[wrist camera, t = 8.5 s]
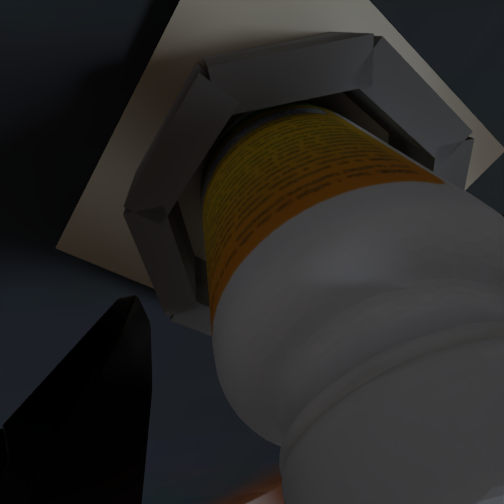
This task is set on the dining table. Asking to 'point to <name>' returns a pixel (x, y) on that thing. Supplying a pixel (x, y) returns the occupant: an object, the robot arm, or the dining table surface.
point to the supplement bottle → (355, 311)
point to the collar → (239, 103)
